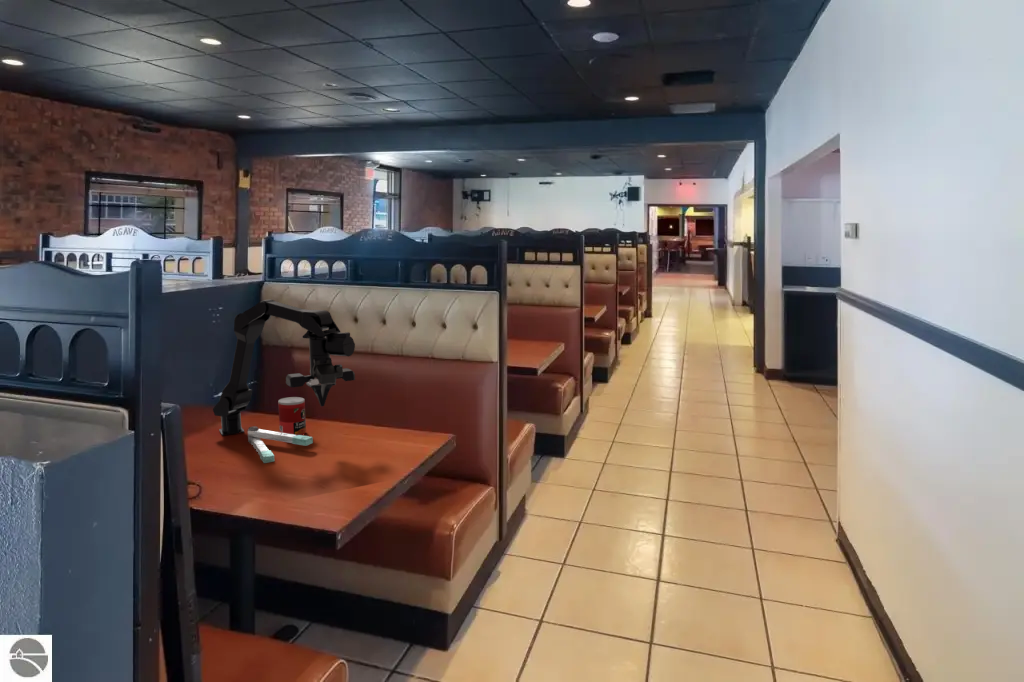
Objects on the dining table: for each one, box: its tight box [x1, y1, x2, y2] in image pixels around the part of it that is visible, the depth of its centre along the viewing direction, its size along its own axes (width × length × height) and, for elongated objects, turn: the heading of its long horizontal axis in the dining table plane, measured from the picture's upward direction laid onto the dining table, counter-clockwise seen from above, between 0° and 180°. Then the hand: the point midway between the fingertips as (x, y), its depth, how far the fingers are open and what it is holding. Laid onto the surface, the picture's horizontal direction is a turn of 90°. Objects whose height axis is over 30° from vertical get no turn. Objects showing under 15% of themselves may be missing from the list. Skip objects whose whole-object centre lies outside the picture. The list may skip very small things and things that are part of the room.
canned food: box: [277, 396, 307, 436], centre depth 200 cm, size 8×8×11 cm
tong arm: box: [247, 425, 314, 447], centre depth 189 cm, size 23×3×2 cm, turn 68°
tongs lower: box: [247, 436, 276, 464], centre depth 185 cm, size 23×3×2 cm, turn 33°
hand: (322, 406), depth 189 cm, fingers closed
